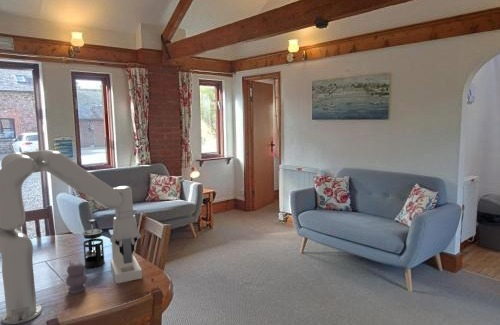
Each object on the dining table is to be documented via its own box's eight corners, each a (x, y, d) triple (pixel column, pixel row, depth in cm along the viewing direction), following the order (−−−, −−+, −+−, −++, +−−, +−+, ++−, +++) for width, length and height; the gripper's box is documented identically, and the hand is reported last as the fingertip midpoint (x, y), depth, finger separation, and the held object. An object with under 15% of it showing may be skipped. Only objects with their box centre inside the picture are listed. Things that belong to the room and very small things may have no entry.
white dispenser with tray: (142, 278, 165) (139, 237, 163) (116, 283, 160) (113, 241, 158) (134, 263, 182) (132, 225, 179) (110, 267, 177) (108, 229, 174)
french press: (81, 264, 181) (77, 219, 178) (99, 259, 187) (97, 215, 184) (90, 271, 173) (86, 224, 170) (109, 265, 179) (106, 220, 176)
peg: (130, 259, 168) (129, 234, 166) (132, 262, 165) (130, 236, 163) (123, 261, 166) (121, 235, 164) (124, 263, 163) (122, 238, 161)
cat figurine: (90, 290, 155) (88, 263, 153) (71, 296, 149) (68, 268, 147) (83, 283, 161) (81, 257, 159) (64, 289, 155) (61, 262, 154)
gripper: (141, 209, 169) (144, 247, 172) (103, 214, 162) (106, 254, 164) (145, 213, 163) (147, 252, 165) (105, 218, 155) (108, 259, 158)
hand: (127, 252), depth 165 cm, fingers closed on peg, 3 cm apart
